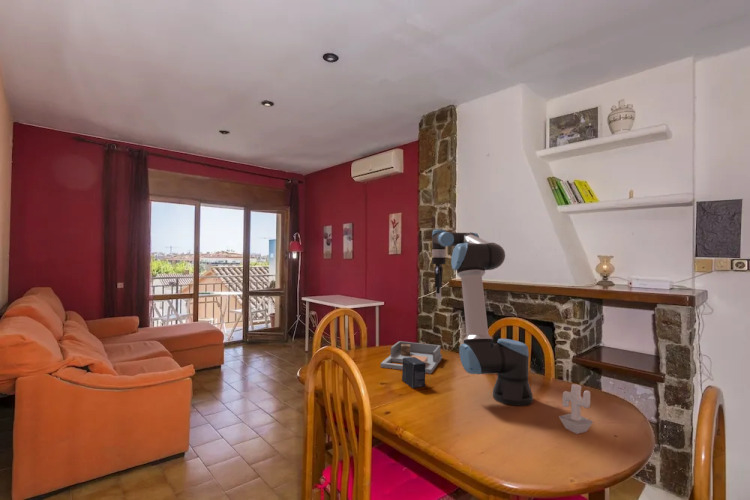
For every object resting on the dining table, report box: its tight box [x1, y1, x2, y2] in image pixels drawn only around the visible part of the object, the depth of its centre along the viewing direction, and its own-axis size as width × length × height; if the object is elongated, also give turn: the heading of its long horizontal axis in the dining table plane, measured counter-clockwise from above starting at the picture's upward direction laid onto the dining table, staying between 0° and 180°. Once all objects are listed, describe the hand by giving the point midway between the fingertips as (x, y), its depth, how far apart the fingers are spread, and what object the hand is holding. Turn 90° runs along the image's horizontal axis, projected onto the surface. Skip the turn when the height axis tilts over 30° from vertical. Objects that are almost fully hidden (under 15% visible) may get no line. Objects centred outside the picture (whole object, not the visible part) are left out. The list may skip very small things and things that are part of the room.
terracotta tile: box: [411, 355, 428, 366], centre depth 187 cm, size 8×8×3 cm
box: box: [401, 357, 426, 389], centre depth 165 cm, size 11×7×10 cm, turn 22°
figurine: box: [558, 383, 594, 435], centre depth 123 cm, size 7×9×15 cm
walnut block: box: [401, 344, 410, 356], centre depth 205 cm, size 5×5×5 cm
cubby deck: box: [380, 340, 443, 374], centre depth 196 cm, size 26×28×7 cm
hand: (438, 298), depth 208 cm, fingers closed
